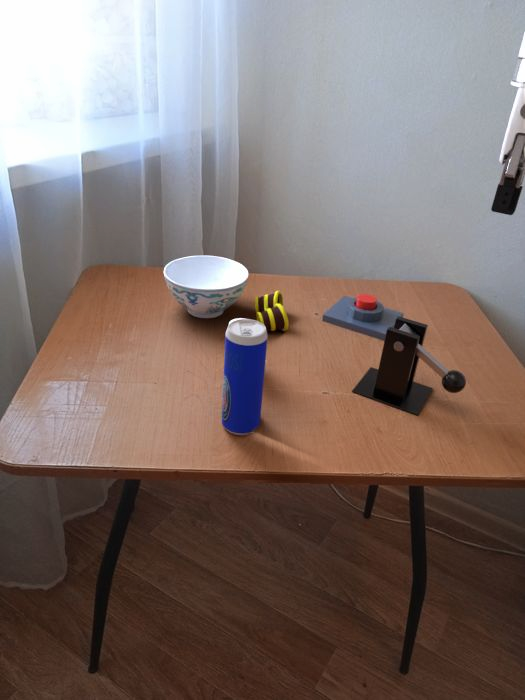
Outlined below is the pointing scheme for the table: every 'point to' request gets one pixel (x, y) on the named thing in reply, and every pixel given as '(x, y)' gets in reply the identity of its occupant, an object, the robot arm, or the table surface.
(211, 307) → the chinaware
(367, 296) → the button
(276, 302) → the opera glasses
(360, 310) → the switch box
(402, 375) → the switch bracket
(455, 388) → the switch lever
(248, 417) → the beverage can
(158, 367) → the table surface
